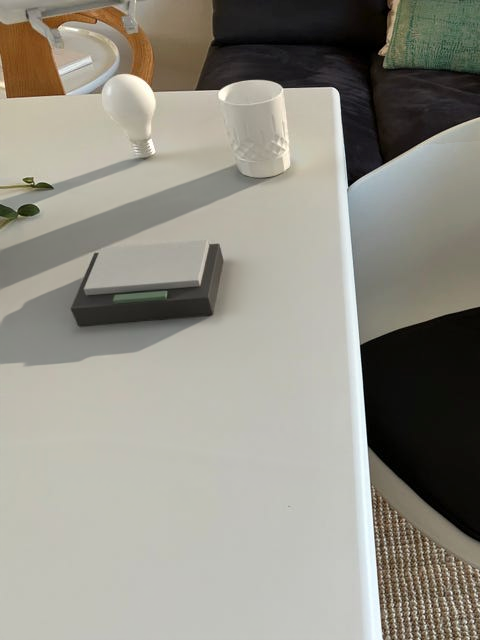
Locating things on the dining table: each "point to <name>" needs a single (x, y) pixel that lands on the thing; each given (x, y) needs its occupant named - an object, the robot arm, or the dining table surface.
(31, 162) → the dining table surface
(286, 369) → the dining table surface
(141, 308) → the scale
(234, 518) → the dining table surface
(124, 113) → the lightbulb
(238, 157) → the white cup
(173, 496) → the dining table surface
